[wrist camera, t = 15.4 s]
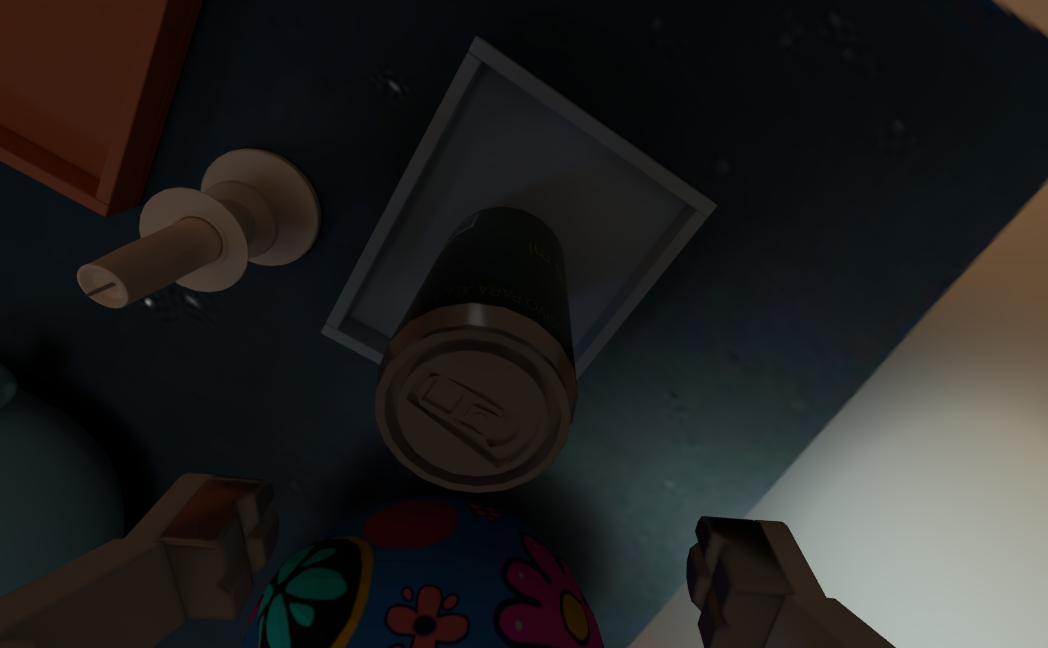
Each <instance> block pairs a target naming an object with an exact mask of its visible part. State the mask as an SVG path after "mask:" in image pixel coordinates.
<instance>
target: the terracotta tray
mask: <svg viewBox="0 0 1048 648" xmlns="http://www.w3.org/2000/svg"><path fill="white" fill-rule="evenodd" d="M202 3H203V0H0V161H2V162H4V163H5V164H7V165H9V166H11V167H13V168H15V169H17V170H18V171H20V172H22V173H24V174H26V175H28V176H30V177H31V178H33V179H35V180H37V181H39V182H41V183H43V184H45V185H46V186H48V187H50V188H52V189H54V190H56V191H58V192H59V193H61V194H63V195H65V196H67V197H69V198H71V199H72V200H74V201H76V202H78V203H80V204H82V205H84V206H85V207H87V208H89V209H91V210H93V211H95V212H97V213H99V214H100V215H102V216H104V217H107V216H110V215H113V214H116V213H119V212H122V211H125V210H128V209H130V208H134V207H137V206H139V204H140V201H141V198H142V194H143V191H144V188H145V185H146V182H147V178H148V175H149V172H150V169H151V166H152V163H153V159H154V156H155V153H156V150H157V147H158V143H159V140H160V137H161V134H162V131H163V127H164V124H165V121H166V118H167V115H168V111H169V108H170V105H171V102H172V99H173V95H174V92H175V89H176V86H177V83H178V79H179V76H180V73H181V70H182V67H183V63H184V60H185V57H186V54H187V51H188V47H189V44H190V41H191V38H192V35H193V31H194V28H195V25H196V22H197V19H198V15H199V12H200V9H201V6H202Z"/></svg>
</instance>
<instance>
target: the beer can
mask: <svg viewBox="0 0 1048 648" xmlns="http://www.w3.org/2000/svg"><path fill="white" fill-rule="evenodd" d="M577 399H578V389H577V379H576V370H575V360H574V350H573V340H572V331H571V321H570V311H569V301H568V291H567V282H566V272H565V264H564V257H563V250H562V247H561V245H560V243H559V241H558V240H557V238H556V236H555V234H554V232H553V231H552V230H551V229H550V228H549V227H548V226H547V225H546V224H545V223H544V222H543V221H542V220H541V219H540V218H538V217H536V216H534V215H532V214H530V213H528V212H526V211H524V210H522V209H516V208H509V207H503V206H501V207H495V208H489V209H483V210H480V211H479V212H477V213H475V214H473V215H471V216H469V217H467V218H465V219H464V220H463V221H462V222H461V223H460V224H459V226H458V227H457V228H456V229H455V230H454V231H453V232H452V233H451V235H450V237H449V239H448V240H447V242H446V244H445V246H444V247H443V249H442V251H441V253H440V254H439V256H438V258H437V260H436V261H435V263H434V265H433V267H432V268H431V270H430V272H429V274H428V275H427V277H426V279H425V281H424V282H423V284H422V286H421V288H420V289H419V291H418V293H417V295H416V296H415V298H414V300H413V302H412V303H411V305H410V307H409V309H408V310H407V312H406V314H405V316H404V317H403V319H402V321H401V323H400V324H399V326H398V328H397V330H396V331H395V333H394V335H393V337H392V338H391V340H390V342H389V344H388V346H387V349H386V351H385V353H384V356H383V358H382V360H381V363H380V365H379V367H378V388H377V390H376V405H375V418H376V421H377V423H378V426H379V429H380V432H381V435H382V438H383V440H384V442H385V444H386V445H387V446H388V447H389V449H390V450H391V451H392V453H393V454H394V455H395V456H396V458H397V459H398V460H399V462H400V463H402V464H403V465H404V466H406V467H407V468H409V469H410V470H411V471H413V472H414V473H415V474H417V475H418V476H420V477H421V478H422V479H424V480H427V481H429V482H432V483H435V484H437V485H440V486H442V487H445V488H447V489H451V490H458V491H466V492H473V493H483V492H492V491H502V490H507V489H510V488H512V487H515V486H517V485H520V484H523V483H525V482H528V481H530V480H532V479H533V478H535V477H536V476H537V475H539V474H540V473H541V472H542V471H544V470H545V469H546V468H548V467H549V466H550V465H551V464H552V463H553V462H554V460H555V459H556V457H557V456H558V454H559V453H560V451H561V450H562V448H563V446H564V445H565V443H566V440H567V435H568V431H569V426H570V425H571V423H572V422H573V417H574V413H575V408H576V404H577Z"/></svg>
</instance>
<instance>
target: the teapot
mask: <svg viewBox="0 0 1048 648" xmlns="http://www.w3.org/2000/svg"><path fill="white" fill-rule="evenodd" d="M124 524H125V512H124V502H123V496H122V491H121V485H120V481H119V478H118V475H117V472H116V470H115V468H114V466H113V464H112V462H111V461H110V459H109V458H108V456H107V455H106V453H105V452H104V450H103V449H102V448H101V446H100V445H99V444H98V442H97V441H96V440H95V439H94V438H93V437H92V436H91V435H90V434H89V433H88V432H87V431H86V430H85V429H84V428H83V427H82V426H80V425H79V424H78V423H77V422H76V421H74V420H73V419H72V418H71V417H69V416H68V415H66V414H65V413H64V412H62V411H61V410H59V409H58V408H56V407H55V406H53V405H51V404H49V403H48V402H46V401H44V400H42V399H41V398H38V397H36V396H34V395H32V394H30V393H28V392H26V391H23V390H21V389H18V382H17V379H16V377H15V376H14V375H13V373H12V372H11V371H10V370H9V369H8V368H6V367H5V366H3V365H2V364H0V597H2V596H4V595H6V594H8V593H9V592H11V591H13V590H15V589H17V588H19V587H21V586H23V585H25V584H27V583H29V582H31V581H33V580H35V579H37V578H39V577H41V576H43V575H45V574H47V573H49V572H51V571H52V570H54V569H56V568H58V567H60V566H62V565H64V564H66V563H68V562H70V561H72V560H74V559H76V558H78V557H80V556H82V555H84V554H86V553H88V552H90V551H92V550H94V549H96V548H97V547H99V546H101V545H103V544H105V543H107V542H109V541H111V540H113V539H123V536H124Z"/></svg>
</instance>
